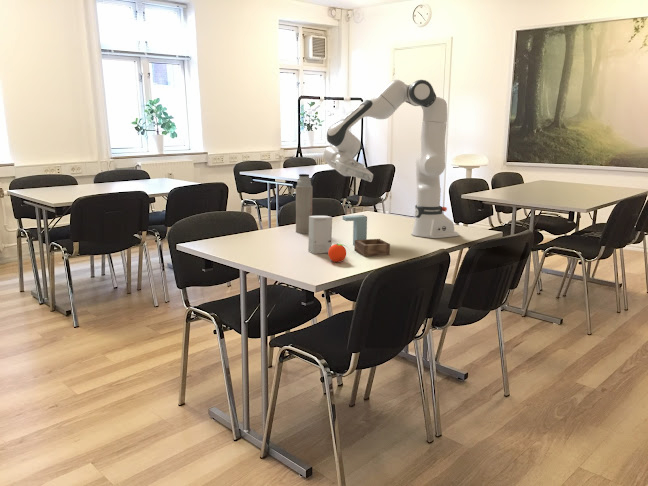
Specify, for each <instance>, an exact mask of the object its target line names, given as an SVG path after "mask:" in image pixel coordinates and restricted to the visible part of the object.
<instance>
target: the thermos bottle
mask: <svg viewBox="0 0 648 486" xmlns="http://www.w3.org/2000/svg"><path fill="white" fill-rule="evenodd" d="M298 176H299V177H298V180H297V182H296V185H295V233H298V234H309V216H313V185H312V181H311V180H310V174H307V173H301V174H298Z"/></svg>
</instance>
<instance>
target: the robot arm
mask: <svg viewBox="0 0 648 486" xmlns="http://www.w3.org/2000/svg"><path fill="white" fill-rule="evenodd" d="M404 103H407V104H408V105H411V106H413V107H420V108H421V109H422V123H421V124H422V125H421V132H420V133H421V134H420V148H421V149H420V151H421V152H420V153H421V154H420V155H419V156H418V157H417V159H416V161H415V174H416V176H415V177H416V204H415V205H414V223H413V227H412V231H411V235H412V236H414V237H415V236H416V237H419V238H420V237H421V238H422V237H423V238H431V239H442V238H449V237H450V238H451V237H459V236H460V233H459V232H458V231H455V225H454V222H453V220H451V219H450V218H449V217H448V216H446V215H445V214H444V212H447V211H448V207H446V206H441V192H442V191H441V190H442V189H441V182H440V176H441V174H443V173H444V171H445V168H446V134H447V124H448V104H447V101H446V100H445V99H444V98H443V97H439V96H437V94H436V93H435V90H434V87H433V85H432V84H431V83H430V81H428V80H426V79H418V80H415V81H413V82H412V83H411V84H406V83H405V82H403V81H402V80H400V79H393V80H392V81H391V82H389V83H388V84H387V85H386V86H384V87H383V88H382V89H381V90H380V92H378V93H377V95H375V96H374V97H373V98H371V99H365V100H364V101H362V102H360V103H359V104H357V105H356V106H355V107H354V108H353V109H352V110H351V111H350V112H348V113H347V114H345V116H343V117H342V118H341V119H340V120H339V121H337V122H335V123H334V124H332V125H331V126H330V127H328V129H327V133H326V140H327V142H328V143H329V144H330V145H331V146H328V147H326V148H325V149H324V150H323V160H324V161H325V163H327V165H328V166H329V167H331V168H332V169H335V171H336V172H338V174H340V175H342V176H343V177H354V178H357V179H360V180H363V181H367V182H370V183H372V181H373V178H374V173H372V172H371V171H370V170H369V169H368V168H366V167H365V165H364V164H362V163H361V162H359V161H357V160H356V159H355V158H356V156H357V155H358V154H359V152H360V149H361V146H362V144H361V141H360V139H359V138H358V137H357V136H355V134H353V133H352V132H351V131H350V129H351V128H352V127H353V126H354V125H356V123H358V122H359V121H360V120H362V119H363V118H367V117H369V118H373V119H376V120H386V119H389V118H391V116H392V115H393V114H395V112H396V111H397V110H398V109H399V107H400V106H401V105H403V104H404Z"/></svg>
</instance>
